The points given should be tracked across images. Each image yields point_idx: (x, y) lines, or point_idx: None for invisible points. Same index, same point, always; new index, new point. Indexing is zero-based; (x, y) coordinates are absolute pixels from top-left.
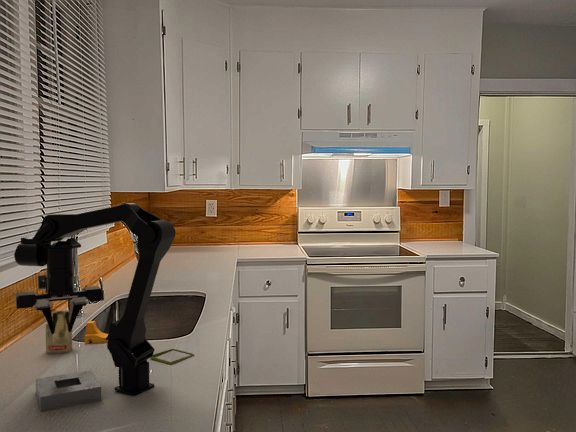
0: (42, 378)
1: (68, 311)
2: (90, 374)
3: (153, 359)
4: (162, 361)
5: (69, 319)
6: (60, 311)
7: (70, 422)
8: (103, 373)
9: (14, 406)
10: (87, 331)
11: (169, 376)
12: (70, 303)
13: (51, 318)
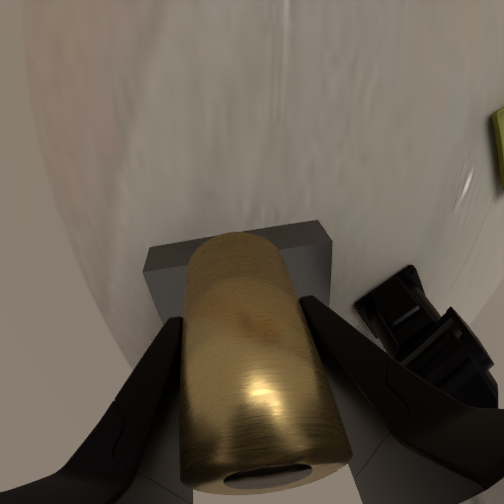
0: (164, 273)
1: (345, 463)
2: (320, 280)
3: (496, 126)
4: (502, 165)
5: (334, 379)
6: (266, 474)
7: None
8: (365, 142)
9: (123, 319)
10: None
11: (472, 240)
12: (434, 484)
13: None
